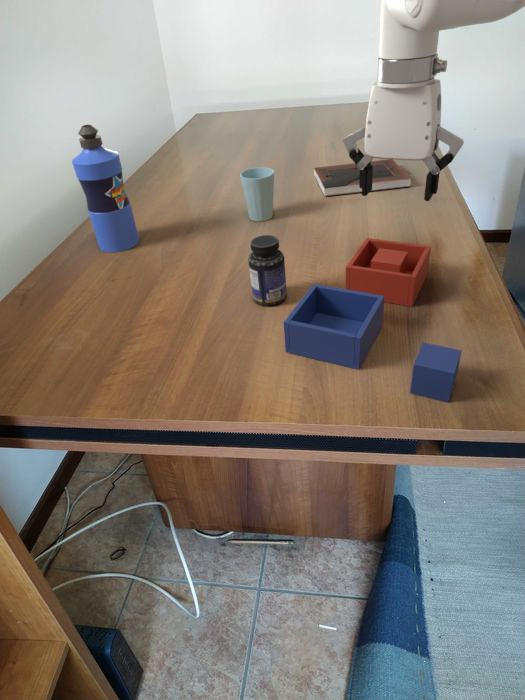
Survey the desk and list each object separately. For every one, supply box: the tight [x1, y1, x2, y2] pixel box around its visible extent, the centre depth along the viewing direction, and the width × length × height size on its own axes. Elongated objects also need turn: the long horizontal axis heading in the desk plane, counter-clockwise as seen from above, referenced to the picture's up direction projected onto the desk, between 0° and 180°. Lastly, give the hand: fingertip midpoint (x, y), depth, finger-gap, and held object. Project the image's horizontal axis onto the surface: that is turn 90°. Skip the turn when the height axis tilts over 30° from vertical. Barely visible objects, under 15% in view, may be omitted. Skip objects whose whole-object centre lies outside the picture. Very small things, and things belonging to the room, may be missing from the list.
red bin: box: [344, 237, 432, 308], centre depth 87 cm, size 12×12×6 cm
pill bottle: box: [247, 234, 288, 307], centre depth 85 cm, size 6×6×11 cm
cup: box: [239, 166, 275, 223], centre depth 114 cm, size 8×8×10 cm
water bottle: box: [71, 124, 140, 253], centre depth 105 cm, size 9×9×25 cm
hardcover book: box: [313, 159, 412, 197], centre depth 130 cm, size 16×2×22 cm
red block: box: [371, 248, 408, 274], centre depth 87 cm, size 5×5×5 cm
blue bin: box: [283, 283, 385, 370], centre depth 76 cm, size 12×12×6 cm
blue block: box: [409, 342, 462, 403], centre depth 65 cm, size 5×5×5 cm
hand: (397, 195), depth 78 cm, fingers open, 9 cm apart
